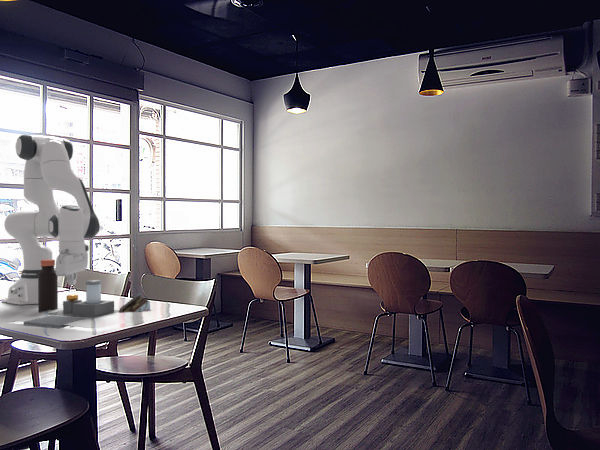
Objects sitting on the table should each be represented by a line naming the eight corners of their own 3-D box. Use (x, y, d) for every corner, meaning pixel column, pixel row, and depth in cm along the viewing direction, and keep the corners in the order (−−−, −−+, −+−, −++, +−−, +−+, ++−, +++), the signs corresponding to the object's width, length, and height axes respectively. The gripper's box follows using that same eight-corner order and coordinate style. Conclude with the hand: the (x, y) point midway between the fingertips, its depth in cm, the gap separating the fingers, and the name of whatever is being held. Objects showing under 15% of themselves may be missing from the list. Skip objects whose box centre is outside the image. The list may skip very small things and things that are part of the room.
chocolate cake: (131, 318, 189) (151, 293, 196) (117, 311, 192) (137, 286, 199) (139, 331, 197) (159, 306, 203) (126, 324, 199) (146, 300, 206)
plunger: (64, 310, 193) (64, 296, 193) (72, 308, 197) (72, 294, 196) (72, 311, 191) (72, 296, 191) (80, 309, 195) (80, 295, 195)
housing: (45, 316, 188) (45, 303, 188) (77, 309, 203) (77, 297, 203) (93, 321, 181) (93, 307, 181) (123, 313, 196) (123, 300, 196)
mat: (23, 324, 175) (23, 321, 175) (51, 318, 186) (51, 315, 186) (60, 328, 169) (60, 325, 169) (86, 321, 180) (86, 318, 180)
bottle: (35, 313, 195) (35, 260, 195) (41, 310, 202) (41, 259, 202) (55, 312, 197) (54, 260, 196) (59, 309, 203) (59, 259, 203)
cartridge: (82, 313, 189) (82, 281, 189) (93, 311, 194) (92, 279, 194) (94, 314, 187) (94, 282, 187) (104, 312, 192) (104, 280, 192)
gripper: (68, 251, 183) (68, 289, 184) (90, 246, 204) (90, 280, 205) (50, 251, 183) (51, 289, 184) (74, 245, 204) (74, 280, 204)
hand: (72, 284), depth 194 cm, fingers closed
